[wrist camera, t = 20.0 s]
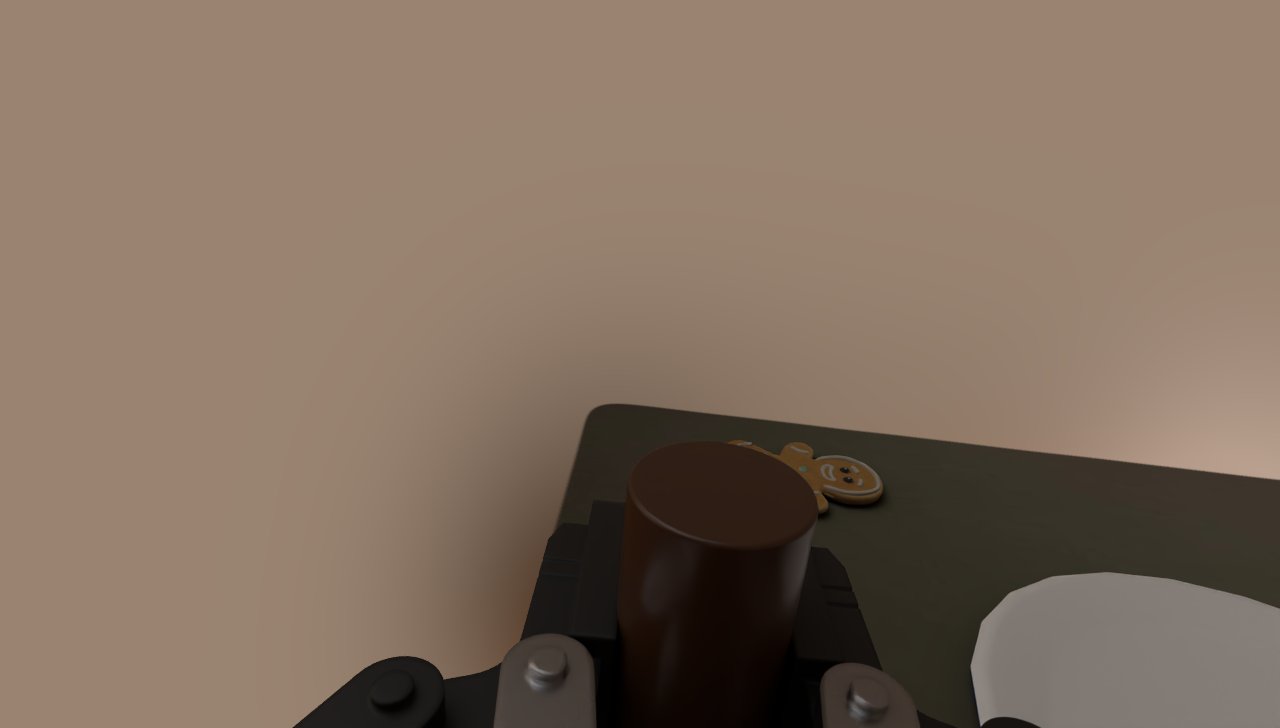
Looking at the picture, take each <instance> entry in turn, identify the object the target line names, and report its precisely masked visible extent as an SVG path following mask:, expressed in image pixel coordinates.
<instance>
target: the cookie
mask: <svg viewBox="0 0 1280 728" xmlns="http://www.w3.org/2000/svg"><path fill="white" fill-rule="evenodd" d="M728 443H730V444H735V445H739V446H743V447H747V448H751V449H754V450H757V451H760V452H763V453H765V454H767V455H770V456H772V457H774V458H776V459H778V460H780V461H782V462H783V463H785V464H787V465H788V466H790V467H791V468H793V469H794V470H795V471H797V472H798V473H799V474H800V475H801V476H802V477H803V478H804V479H805V480H806V481H807V482H808V483H809V485H810V486H811V488H812V489H813V491H814V493H815V496H816V498H817V502H818V507H819V511H818V514H822V513H824V512H826V511H827V509H828V502H827V500H826V499H825V497H827V498H829V499H831V500H834V501H836V502H839V503H843V504H850V505H865V504H870V503H873V502H875V501H877V500H878V499H879V498H880V496H881V495H882V492H883V484H882V481H881V480H880V478H879V476H878V475H877V474H876V472H875V471H874V470H873V469H871V468H870V467H869V466H867V465H866V464H864V463H862V462H860V461H857V460H855V459H852V458H849V457H845V456H838V455H832V456H823V457H819V458H817V459H815V460H814V459H812V458H813V455H814V452H813V450H812V449H811V448H810V447H809V446H807V445H805V444H802V443H789V444H787V445H786V446H785V447H784V448H783V449H782V451H781V453H780V454H779V456H778V455H774V454H771V453H769V452H768V451H765V450H763V449H761V448H758V447H757V446H755V445H753V444H752V443H750V442H747V441H742V440H734V441H730V442H728ZM824 496H825V497H824Z"/></svg>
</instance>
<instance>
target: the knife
mask: <svg viewBox="0 0 1280 728" xmlns="http://www.w3.org/2000/svg"><path fill="white" fill-rule="evenodd" d="M818 511H819V507H818V502H817V498H816V496H815V493H814V491H813V489H812V488H811V486H810V485H809V483H808V482H807V481H806V480H805V479H804V478H803V477H802V476H801V475H800V474H799V473H798V472H797V471H795V470H794V469H793V468H791V467H790V466H788V465H787V464H785V463H783V462H782V461H780V460H778V459H776V458H774V457H772V456H770V455H767V454H765V453H763V452H760V451H757V450H754V449H751V448H747V447H743V446H739V445H735V444H730V443H722V442H712V441H690V442H681V443H675V444H670V445H666V446H663V447H660V448H658V449H655V450H653V451H651V452H649V453H648V454H646V455H644V456H643V457H642V458H641V459H639V460H638V462H637V463H636V464H635V465H634V467H633V468H632V470H631V472H630V474H629V477H628V483H627V494H626V506H625V517H624V528H623V540H622V551H621V562H620V573H619V585H618V596H617V617H618V626H617V637H616V648H615V659H614V670H613V681H612V692H611V703H610V714H609V725H608V728H771V727H772V722H773V718H774V713H775V709H776V704H777V700H778V695H779V691H780V686H781V682H782V677H783V672H784V668H785V663H786V659H787V654H788V650H789V645H790V641H791V636H792V632H793V627H794V623H795V618H796V614H797V609H798V605H799V600H800V596H801V591H802V587H803V582H804V577H805V573H806V568H807V564H808V559H809V555H810V550H811V546H812V541H813V537H814V532H815V528H816V523H817V519H818Z"/></svg>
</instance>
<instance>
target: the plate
mask: <svg viewBox="0 0 1280 728" xmlns="http://www.w3.org/2000/svg"><path fill="white" fill-rule="evenodd" d="M970 675H971V681H972V687H973V693H974V698H975V704H976V710H977V716H978V722H979V728H981V726H982V725H983V724H984V723H985V722H986V721H988V720H989V719H992V718H996V717H1013V718H1017V719H1021V720H1024V721H1027V722H1030V723H1032V724H1035V725H1037V726H1039V727H1041V728H1280V609H1278V608H1276V607H1273V606H1270V605H1267V604H1264V603H1261V602H1258V601H1255V600H1252V599H1250V598H1247V597H1243V596H1239V595H1235V594H1231V593H1227V592H1223V591H1218V590H1214V589H1210V588H1206V587H1202V586H1198V585H1193V584H1189V583H1185V582H1181V581H1177V580H1173V579H1166V578H1156V577H1147V576H1138V575H1128V574H1119V573H1110V572H1104V573H1092V574H1079V575H1066V576H1054V577H1050V578H1047V579H1044V580H1042V581H1039V582H1037V583H1034V584H1031V585H1029V586H1026V587H1024V588H1021V589H1018V590H1016V591H1013V592H1011V593H1009V594H1008V595H1007V596H1006V597H1005V598H1004V599H1003V600H1002V601H1001V602H1000V604H999V605H998V606H997V607H996V608H995V609H994V610H993V611H992V612H991V613H990V614H989V615H988V616H987V617H986V618H985V619H984V620H983V621H982V623H981V627H980V631H979V635H978V639H977V643H976V647H975V651H974V655H973V659H972V663H971V667H970Z"/></svg>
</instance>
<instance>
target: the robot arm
mask: <svg viewBox="0 0 1280 728" xmlns="http://www.w3.org/2000/svg"><path fill="white" fill-rule="evenodd" d="M625 506H626V503H624V502H613V501H603V500H593V505H592V510H591V515H590V520H589V525H580V524H570V523H563V524H562V525H561V526H560V527H559V528H558V530H557V531H556V532H555V533H554V534H553V535H552V536H551V537H550V538H549V539H548V543H547V546H546V550H545V553H544V557H543V562H542V564H541V568H540V571H539V577H538V579H537V582H536V586H535V590H534V593H533V597H532V600H531V604H530V608H529V611H528V615H527V618H526V622H525V626H524V629H523V633H522V637H521V639H520V642H519V643H517V644H516V645H515V646H513V647H512V648H511V649H510V650H509V652H508V653H507V654H506V656H505V658H504V660H503V662H501V663H500V664H498V665H497V666H495V667H493V668H491V669H489V670H486V671H483V672H481V673H476V674H472V675H467V676H461V677H456V678H450V679H445V680H443V677H442V675H441V673H440V671H439V670H438V669H437V668H436V667H435V666H434V665H433V664H431V663H430V662H428V661H426V660H424V659H421V658H417V657H410V656H404V657H403V656H399V657H393V658H388V659H385V660H381V661H379V662H376V663H374V664H372V665H370V666H368V667H367V668H365V669H364V670H362V671H361V672H360V673H358V674H357V675H356V676H354V677H353V678H352V679H351V680H350V681H348V682H347V683H346V684H345V685H344V686H342V687H341V688H340V689H339V690H338V691H336V692H335V693H334V694H333V695H332V696H330V697H329V698H328V699H327V700H326V701H324V702H323V703H322V704H321V705H320V706H318V707H317V708H316V709H315V710H313V711H312V712H311V713H310V714H308V715H307V716H306V717H305V718H304V719H302V720H301V721H300V722H299V723H298V724H296V725H295V726H294V727H293V728H608V725H609V714H610V703H611V692H612V681H613V670H614V659H615V648H616V637H617V626H618V617H617V596H618V585H619V573H620V562H621V551H622V540H623V528H624V517H625ZM771 728H956V727H954V726H951V725H948V724H946V723H943V722H940V721H938V720H935V719H933V718H930V717H928V716H926V715H925V714H923V713H921V712H919V711H918V710H916V708H915V705H914V703H913V701H912V699H911V697H910V695H909V694H908V693H907V691H906V690H905V689H904V688H903V687H902V686H901V685H900V684H899V683H898V682H897V681H896V680H895V679H893V678H892V677H891V676H889V675H888V674H886V673H884V672H883V670H882V668H881V665H880V662H879V660H878V657H877V654H876V651H875V649H874V646H873V643H872V641H871V638H870V635H869V632H868V630H867V627H866V624H865V622H864V619H863V616H862V613H861V611H860V609H858V603H857V600H856V597H855V594H854V592H852V586H851V584H850V581H849V578H848V575H847V573H846V570H845V567H844V566H843V565H842V564H841V563H840V562H839V561H838V560H837V559H836V558H835V556H834V555H833V554H832V553H831V552H830V551H829V550H828V549H827V548H817V547H811V550H810V555H809V559H808V564H807V568H806V573H805V577H804V582H803V587H802V591H801V596H800V600H799V605H798V609H797V614H796V618H795V623H794V627H793V632H792V636H791V641H790V645H789V650H788V654H787V659H786V663H785V668H784V672H783V677H782V682H781V686H780V691H779V695H778V700H777V704H776V709H775V713H774V718H773V722H772V727H771ZM981 728H1041V727H1039V726H1037V725H1035V724H1032V723H1030V722H1027V721H1024V720H1021V719H1017V718H1013V717H996V718H992V719H989V720H988V721H986V722H985V723H984V724H983V725H982V726H981Z"/></svg>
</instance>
